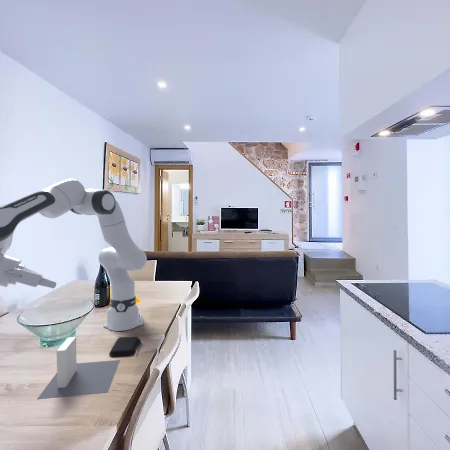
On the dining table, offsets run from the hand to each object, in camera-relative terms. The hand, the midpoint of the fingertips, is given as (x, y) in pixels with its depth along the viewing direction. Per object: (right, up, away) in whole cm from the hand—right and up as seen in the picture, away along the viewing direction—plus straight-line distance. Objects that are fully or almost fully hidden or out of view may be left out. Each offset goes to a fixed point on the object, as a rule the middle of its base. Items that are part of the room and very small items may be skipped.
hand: (55, 285), depth 95 cm
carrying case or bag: (+15, -32, +24) cm, 43 cm away
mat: (+8, -32, +3) cm, 33 cm away
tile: (+3, -32, +2) cm, 32 cm away
